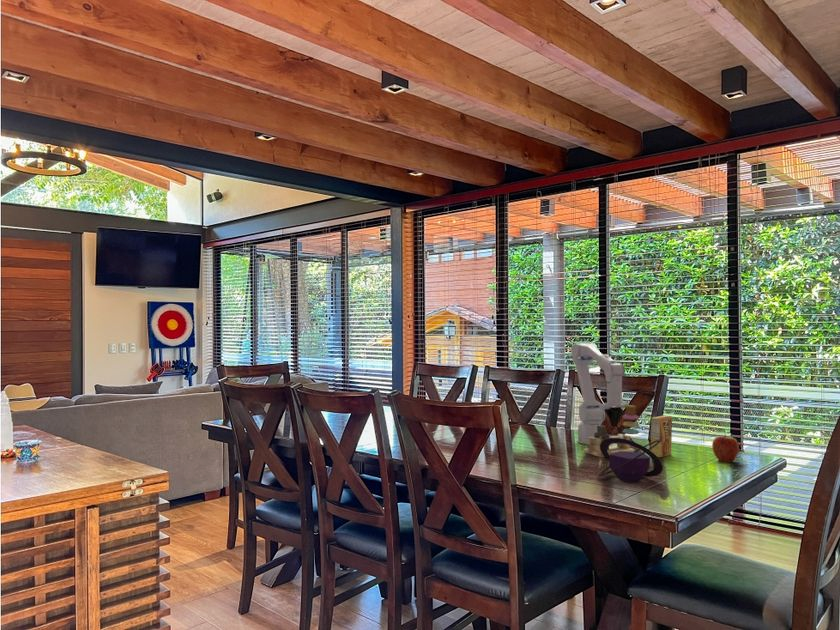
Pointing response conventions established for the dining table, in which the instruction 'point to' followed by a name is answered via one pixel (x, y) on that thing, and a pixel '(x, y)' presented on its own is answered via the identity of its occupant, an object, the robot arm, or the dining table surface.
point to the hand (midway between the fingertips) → (614, 426)
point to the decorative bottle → (630, 455)
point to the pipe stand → (595, 446)
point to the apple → (725, 448)
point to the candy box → (661, 435)
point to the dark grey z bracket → (601, 433)
